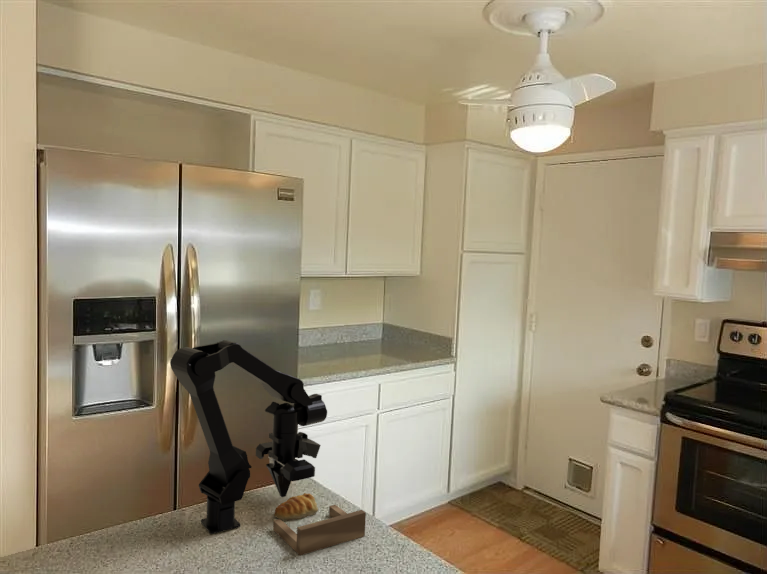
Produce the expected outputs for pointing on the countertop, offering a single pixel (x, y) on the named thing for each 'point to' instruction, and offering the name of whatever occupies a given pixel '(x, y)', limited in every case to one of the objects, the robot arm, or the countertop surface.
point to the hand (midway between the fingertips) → (283, 496)
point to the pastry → (297, 507)
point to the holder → (323, 531)
